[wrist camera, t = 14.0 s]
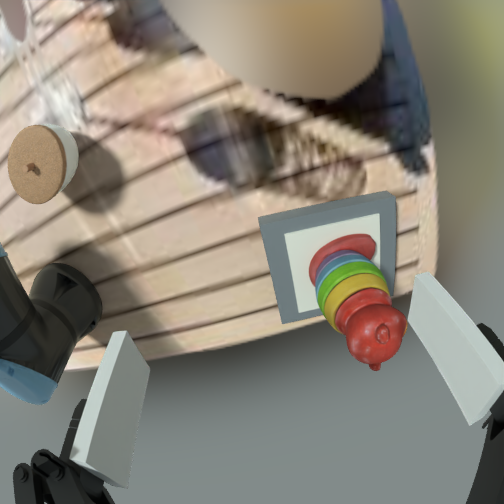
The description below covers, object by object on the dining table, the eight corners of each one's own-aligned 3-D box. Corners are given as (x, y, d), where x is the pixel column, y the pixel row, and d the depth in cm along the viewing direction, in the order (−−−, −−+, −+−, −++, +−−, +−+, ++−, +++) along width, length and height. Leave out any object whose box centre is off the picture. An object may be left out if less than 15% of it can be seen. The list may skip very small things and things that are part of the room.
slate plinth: (279, 312, 49) (282, 325, 46) (257, 217, 41) (259, 226, 38) (386, 285, 48) (394, 296, 45) (386, 190, 40) (396, 197, 37)
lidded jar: (30, 135, 32) (-8, 146, 24) (81, 108, 32) (44, 113, 23) (47, 195, 37) (14, 217, 29) (98, 176, 37) (66, 196, 28)
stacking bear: (363, 293, 44) (409, 376, 29) (304, 298, 44) (332, 392, 28) (375, 232, 39) (442, 308, 24) (309, 234, 39) (353, 321, 23)
